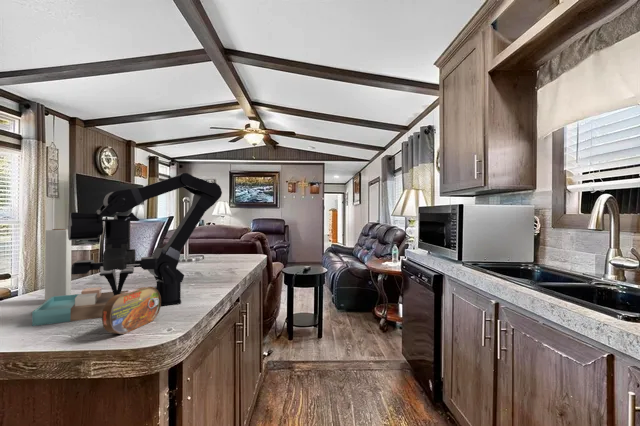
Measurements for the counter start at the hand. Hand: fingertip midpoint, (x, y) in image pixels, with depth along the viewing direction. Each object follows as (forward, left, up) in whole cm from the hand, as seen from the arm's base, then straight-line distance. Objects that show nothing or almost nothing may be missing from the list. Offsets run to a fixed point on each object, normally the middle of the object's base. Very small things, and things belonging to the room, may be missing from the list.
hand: (117, 297), depth 84 cm
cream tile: (+7, 0, -1) cm, 7 cm away
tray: (+13, -4, -4) cm, 14 cm away
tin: (-4, +15, -4) cm, 17 cm away
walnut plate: (+4, -4, -4) cm, 6 cm away
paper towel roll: (+17, -21, -4) cm, 27 cm away
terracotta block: (+7, -8, -1) cm, 10 cm away
